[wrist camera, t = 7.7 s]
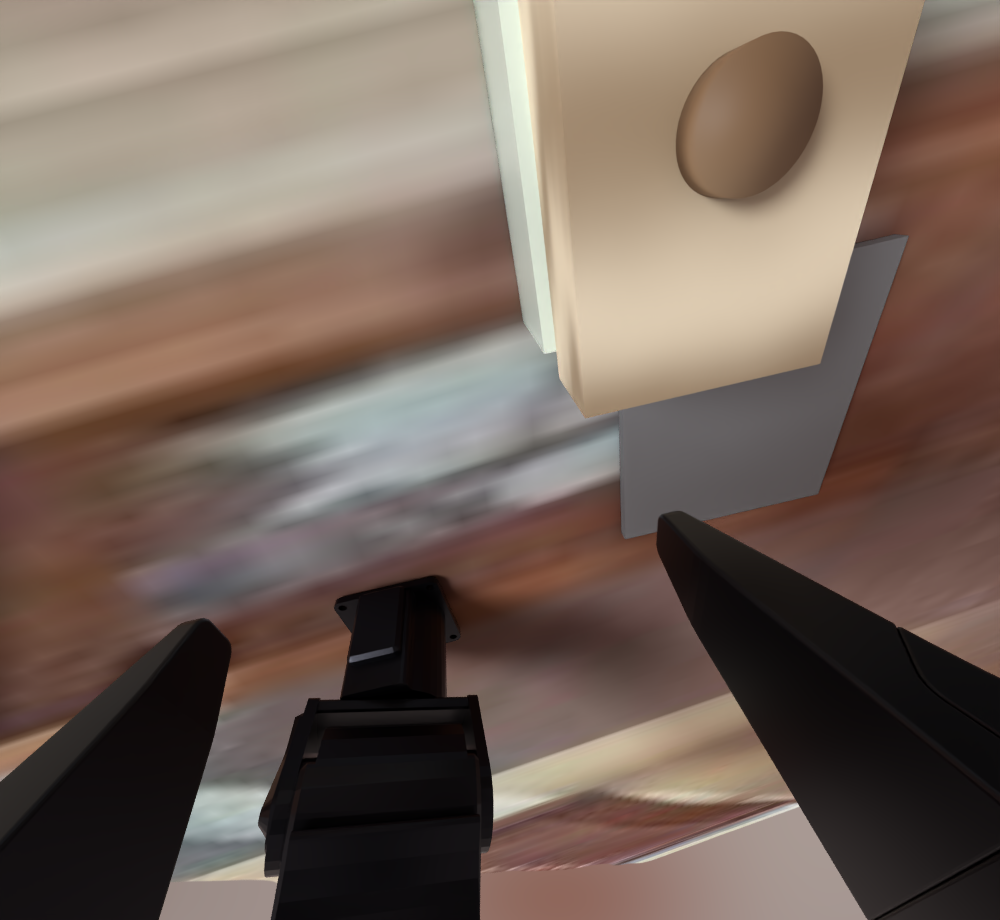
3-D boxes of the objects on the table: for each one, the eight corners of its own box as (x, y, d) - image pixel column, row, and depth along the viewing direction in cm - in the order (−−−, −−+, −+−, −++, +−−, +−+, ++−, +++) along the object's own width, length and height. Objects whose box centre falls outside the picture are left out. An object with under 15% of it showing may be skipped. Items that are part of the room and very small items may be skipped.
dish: (709, 278, 17) (775, 299, 13) (523, 321, 17) (544, 354, 13) (748, -105, 11) (879, -229, 8) (467, -38, 11) (480, -134, 8)
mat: (810, 487, 25) (817, 494, 24) (621, 532, 25) (625, 539, 24) (894, 234, 17) (908, 235, 16) (616, 300, 17) (621, 303, 16)
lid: (752, 333, 14) (843, 374, 11) (559, 378, 14) (594, 431, 11) (869, -318, 7) (1197, -705, 4) (492, -230, 7) (533, -551, 4)
